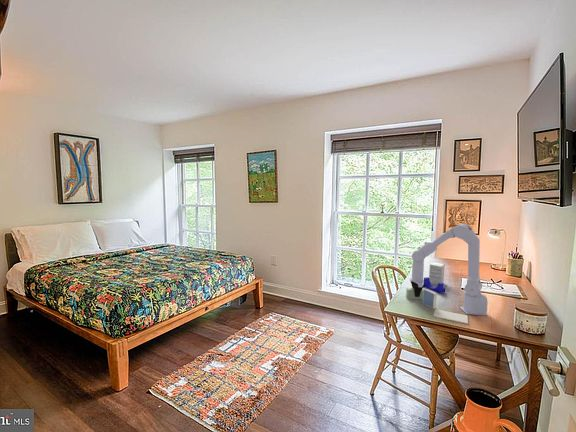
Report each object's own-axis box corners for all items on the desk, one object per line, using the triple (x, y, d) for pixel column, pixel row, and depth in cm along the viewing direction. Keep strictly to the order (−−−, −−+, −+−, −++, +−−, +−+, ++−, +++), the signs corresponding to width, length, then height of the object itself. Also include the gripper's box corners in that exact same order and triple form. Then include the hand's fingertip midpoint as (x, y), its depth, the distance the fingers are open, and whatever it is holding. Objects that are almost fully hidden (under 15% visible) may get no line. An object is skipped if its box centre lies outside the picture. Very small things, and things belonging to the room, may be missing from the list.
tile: (425, 303, 156) (426, 288, 155) (435, 308, 149) (436, 293, 148) (422, 303, 155) (423, 289, 154) (433, 308, 148) (434, 293, 148)
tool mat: (467, 316, 140) (467, 315, 140) (467, 324, 132) (468, 323, 132) (434, 309, 147) (434, 309, 147) (433, 316, 139) (433, 315, 139)
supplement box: (431, 280, 193) (432, 261, 191) (443, 283, 188) (445, 264, 187) (428, 283, 187) (429, 264, 186) (440, 286, 182) (442, 266, 181)
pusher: (424, 297, 163) (425, 289, 163) (426, 299, 160) (427, 290, 160) (406, 296, 165) (406, 287, 164) (407, 298, 162) (407, 289, 161)
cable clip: (445, 292, 171) (445, 283, 171) (439, 293, 170) (440, 283, 169) (428, 286, 182) (429, 276, 182) (423, 287, 181) (423, 277, 180)
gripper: (407, 267, 169) (405, 290, 170) (413, 275, 154) (411, 299, 156) (420, 268, 167) (418, 291, 169) (427, 276, 153) (425, 301, 155)
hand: (416, 295), depth 162 cm, fingers closed on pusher, 3 cm apart
